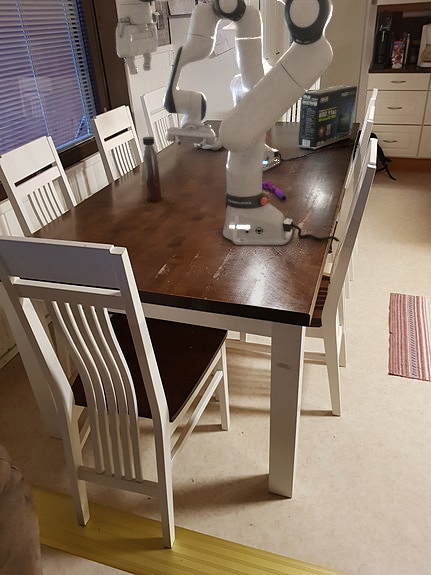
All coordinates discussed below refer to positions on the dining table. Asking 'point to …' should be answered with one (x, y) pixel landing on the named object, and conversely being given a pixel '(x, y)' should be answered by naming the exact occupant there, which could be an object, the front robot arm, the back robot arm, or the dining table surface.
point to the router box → (326, 115)
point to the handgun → (273, 189)
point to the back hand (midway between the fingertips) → (190, 144)
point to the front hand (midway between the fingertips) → (140, 72)
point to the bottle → (152, 173)
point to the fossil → (214, 147)
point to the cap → (148, 141)
